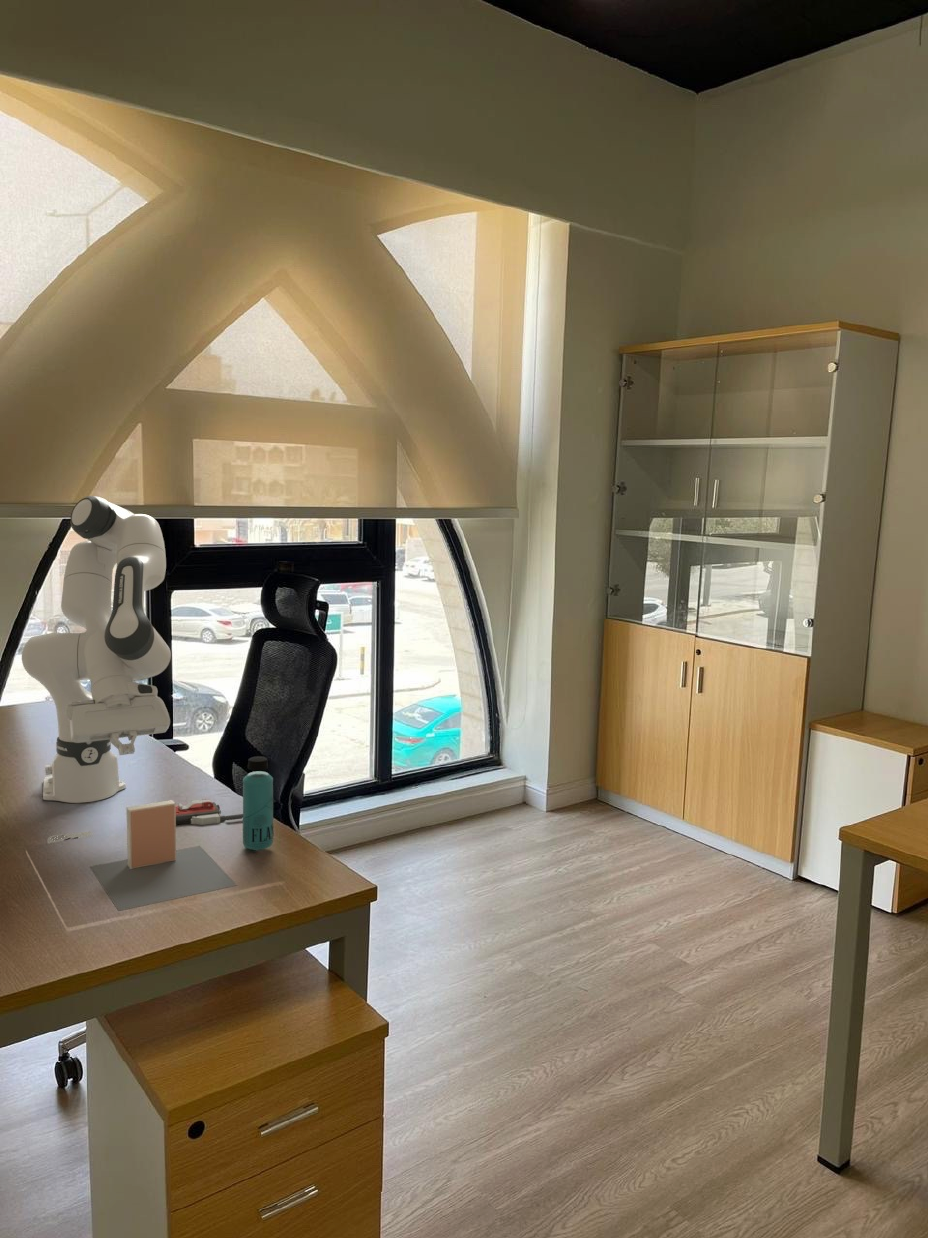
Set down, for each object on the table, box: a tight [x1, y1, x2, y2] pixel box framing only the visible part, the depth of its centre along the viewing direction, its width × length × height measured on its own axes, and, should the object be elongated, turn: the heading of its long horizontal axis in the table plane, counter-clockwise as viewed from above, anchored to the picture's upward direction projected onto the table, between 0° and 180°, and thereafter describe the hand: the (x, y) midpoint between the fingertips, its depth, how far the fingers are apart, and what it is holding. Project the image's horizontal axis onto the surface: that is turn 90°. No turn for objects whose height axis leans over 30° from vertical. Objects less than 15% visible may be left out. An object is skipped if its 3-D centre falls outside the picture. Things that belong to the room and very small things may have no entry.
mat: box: [89, 845, 238, 912], centre depth 187 cm, size 22×22×1 cm
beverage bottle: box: [242, 755, 275, 850], centre depth 201 cm, size 6×7×20 cm
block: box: [125, 799, 177, 869], centre depth 192 cm, size 2×9×12 cm, turn 124°
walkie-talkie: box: [175, 798, 243, 826], centre depth 218 cm, size 9×4×20 cm
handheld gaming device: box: [46, 831, 93, 844], centre depth 201 cm, size 9×1×15 cm
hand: (127, 753), depth 205 cm, fingers closed
